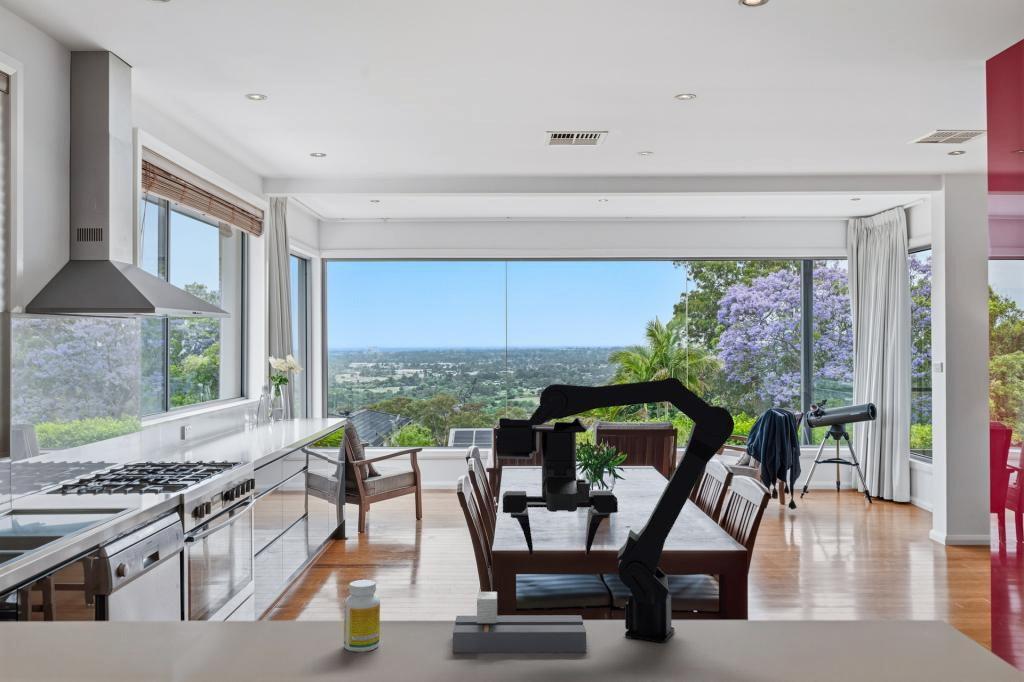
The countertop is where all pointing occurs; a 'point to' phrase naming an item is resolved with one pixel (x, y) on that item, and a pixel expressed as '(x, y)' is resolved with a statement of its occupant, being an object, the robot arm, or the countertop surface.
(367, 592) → the supplement bottle
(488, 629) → the fader console
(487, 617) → the fader tab
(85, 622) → the countertop surface
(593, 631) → the countertop surface
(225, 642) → the countertop surface
